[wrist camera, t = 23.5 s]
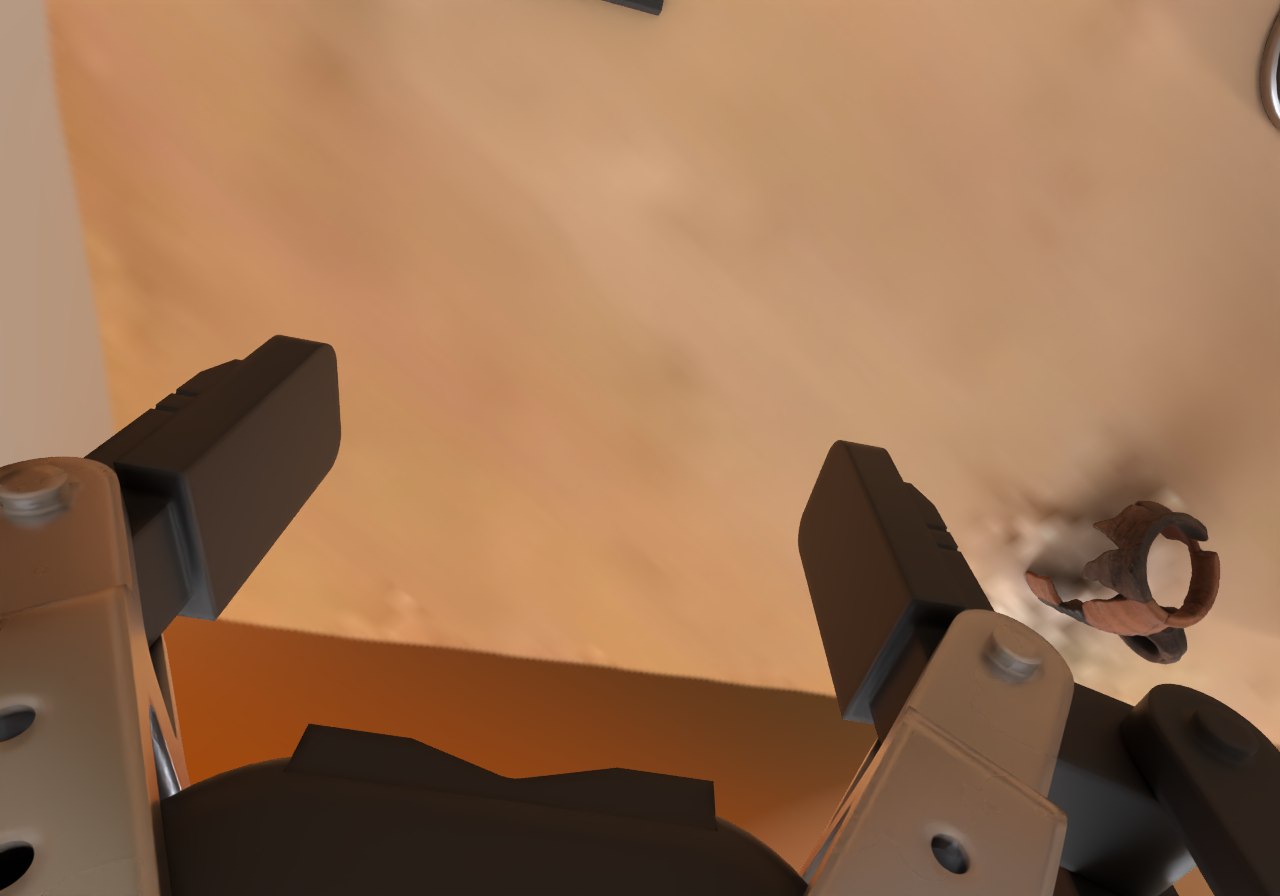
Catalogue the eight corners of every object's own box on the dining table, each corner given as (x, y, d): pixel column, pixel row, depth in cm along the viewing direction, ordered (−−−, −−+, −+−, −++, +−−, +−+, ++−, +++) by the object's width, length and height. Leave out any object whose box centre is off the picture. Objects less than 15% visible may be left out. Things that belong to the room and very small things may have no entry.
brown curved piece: (992, 550, 47) (1104, 564, 39) (1070, 469, 49) (1191, 467, 41) (1076, 676, 49) (1199, 715, 41) (1147, 592, 51) (1276, 613, 43)
